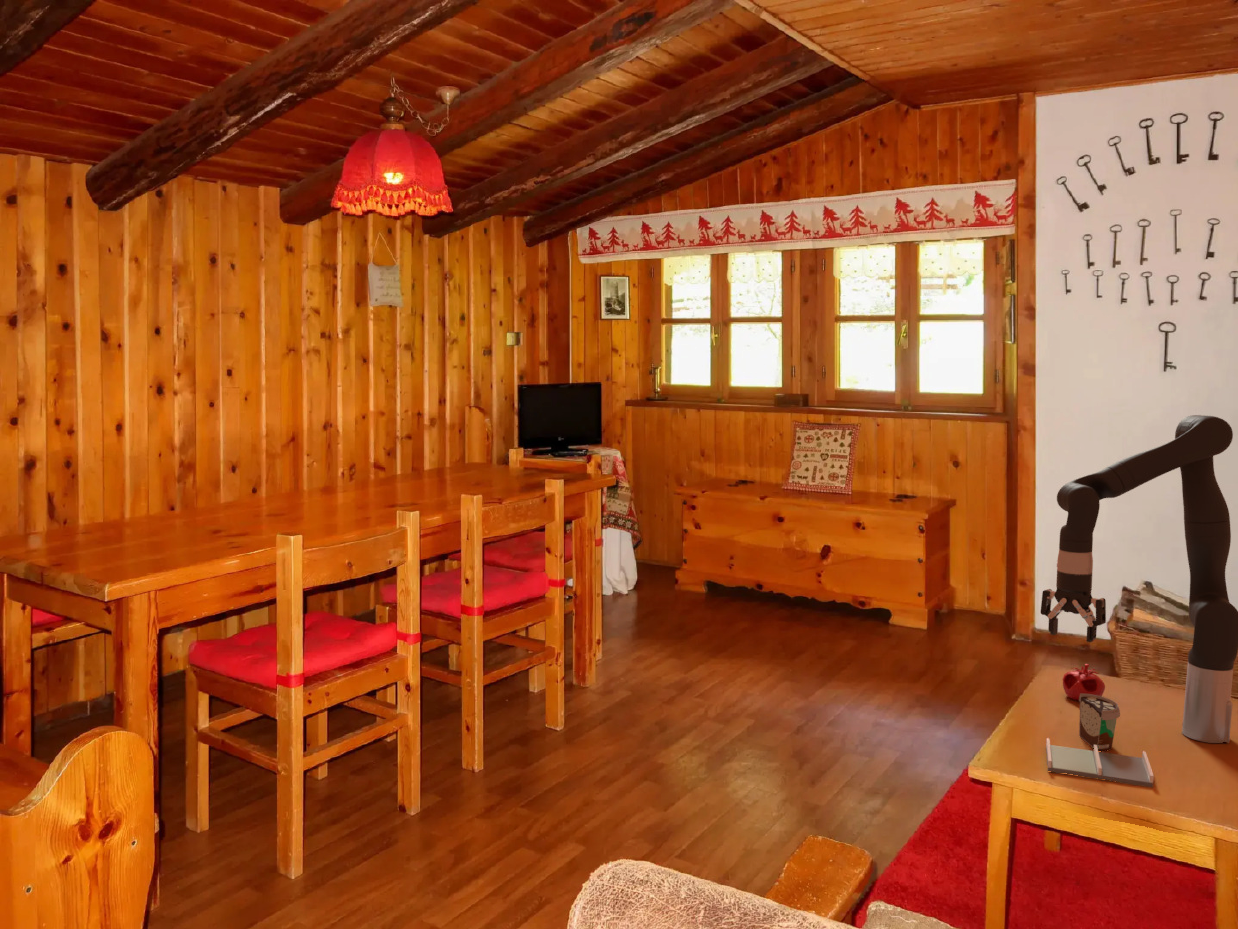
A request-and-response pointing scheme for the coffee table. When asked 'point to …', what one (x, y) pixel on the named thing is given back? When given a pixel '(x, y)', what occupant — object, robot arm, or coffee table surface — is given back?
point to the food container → (1098, 720)
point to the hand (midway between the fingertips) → (1071, 637)
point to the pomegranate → (1082, 683)
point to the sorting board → (1100, 765)
